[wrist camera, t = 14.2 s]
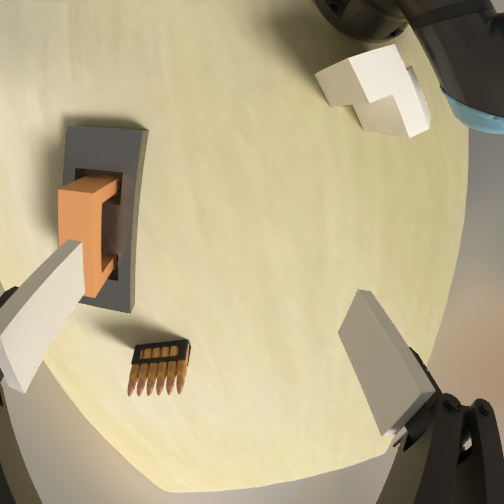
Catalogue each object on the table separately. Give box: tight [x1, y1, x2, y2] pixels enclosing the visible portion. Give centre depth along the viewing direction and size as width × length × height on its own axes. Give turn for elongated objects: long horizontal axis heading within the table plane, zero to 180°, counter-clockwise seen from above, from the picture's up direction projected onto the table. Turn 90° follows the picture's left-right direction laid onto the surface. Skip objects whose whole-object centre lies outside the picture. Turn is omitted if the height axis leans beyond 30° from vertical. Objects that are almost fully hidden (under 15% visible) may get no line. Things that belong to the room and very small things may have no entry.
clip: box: [58, 174, 121, 298], centre depth 36 cm, size 14×5×10 cm, turn 168°
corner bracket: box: [314, 44, 431, 138], centre depth 30 cm, size 11×11×12 cm
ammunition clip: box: [128, 340, 191, 396], centre depth 46 cm, size 11×2×12 cm, turn 98°
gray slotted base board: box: [63, 126, 149, 313], centre depth 39 cm, size 28×12×3 cm, turn 168°
